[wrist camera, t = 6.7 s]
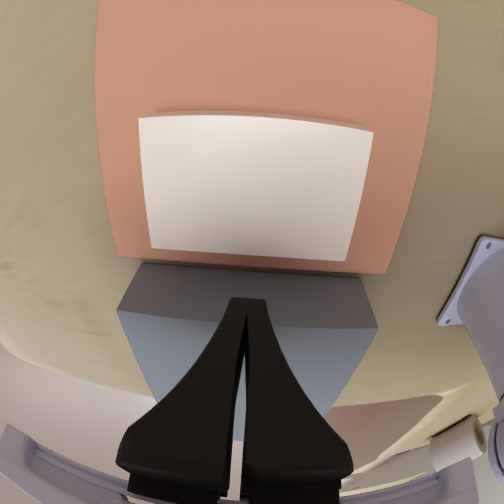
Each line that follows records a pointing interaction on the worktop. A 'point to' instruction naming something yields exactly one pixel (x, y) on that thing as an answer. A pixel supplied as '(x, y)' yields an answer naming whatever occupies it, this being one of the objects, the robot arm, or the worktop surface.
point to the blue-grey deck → (281, 315)
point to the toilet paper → (458, 443)
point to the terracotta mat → (267, 98)
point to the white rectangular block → (252, 182)
